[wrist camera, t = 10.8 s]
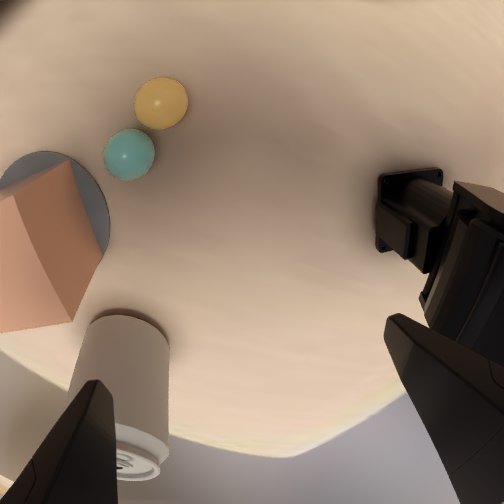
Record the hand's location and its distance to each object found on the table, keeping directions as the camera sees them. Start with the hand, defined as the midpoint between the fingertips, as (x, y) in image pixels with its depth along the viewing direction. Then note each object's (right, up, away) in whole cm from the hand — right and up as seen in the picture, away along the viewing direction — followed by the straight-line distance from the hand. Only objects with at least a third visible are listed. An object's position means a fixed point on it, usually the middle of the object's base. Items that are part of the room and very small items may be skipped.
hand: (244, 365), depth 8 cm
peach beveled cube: (-14, +5, +9) cm, 17 cm away
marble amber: (-5, +12, +7) cm, 15 cm away
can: (-10, -4, +16) cm, 19 cm away
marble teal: (-7, +9, +8) cm, 14 cm away
